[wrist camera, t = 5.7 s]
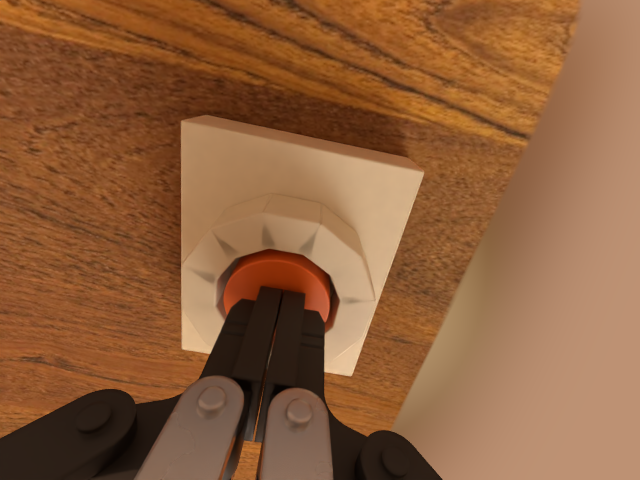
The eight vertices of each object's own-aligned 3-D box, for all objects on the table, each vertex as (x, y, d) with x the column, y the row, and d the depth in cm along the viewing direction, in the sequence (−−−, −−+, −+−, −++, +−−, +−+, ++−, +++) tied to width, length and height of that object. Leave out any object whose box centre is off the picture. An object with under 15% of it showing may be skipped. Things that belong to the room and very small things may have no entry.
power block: (204, 114, 12) (149, 126, 8) (409, 157, 12) (444, 187, 8) (198, 317, 16) (161, 384, 12) (348, 342, 16) (354, 413, 13)
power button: (240, 227, 11) (226, 250, 9) (338, 245, 11) (340, 271, 10) (233, 305, 13) (220, 337, 11) (319, 320, 13) (318, 352, 11)
